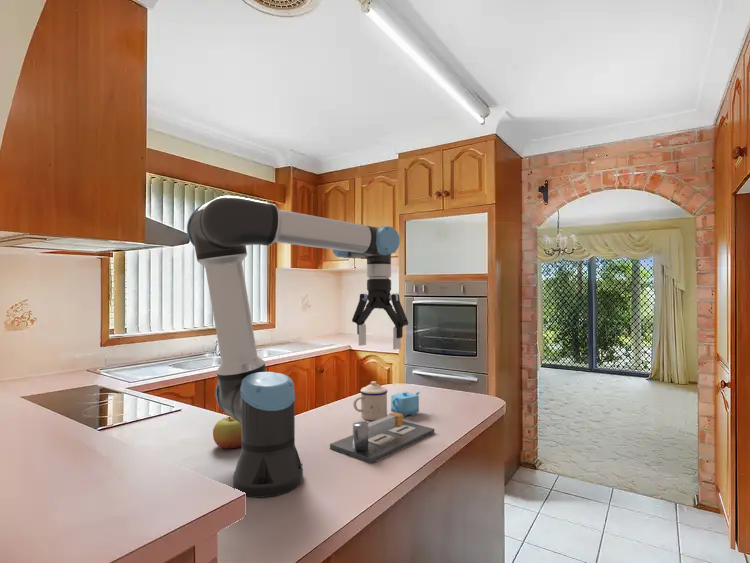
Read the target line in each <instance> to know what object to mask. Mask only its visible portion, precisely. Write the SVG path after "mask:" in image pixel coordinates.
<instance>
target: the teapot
mask: <svg viewBox="0 0 750 563" xmlns="http://www.w3.org/2000/svg"><path fill="white" fill-rule="evenodd" d="M420 393H421V391H417V392H415V394H414V393H413V392H412V393H411V392H408V391H402V392H401V393H396V394H391V395H390V406H391V407H390V412H392V413H393V412H396V413H400V414H403V418H407V416H408V415H410V416H415V413H419V412H420V408H419V406H420V404H419V403H420V396H419V394H420Z"/></svg>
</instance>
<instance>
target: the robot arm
mask: <svg viewBox="0 0 750 563" xmlns="http://www.w3.org/2000/svg"><path fill="white" fill-rule="evenodd" d="M186 223H187V224H186V233H187V238H188V240H189V242H190V243H191V244H192V246H193V247H194V250H195V255H196V261H197V262H198V263H199V264H200V265H202V266H203V268H204V269H205V273H206V275H205V276H206V279H207V286H208V291H209V297H210V303H211V310H212V313H213V314H212V315H213V321H214V326H215V331H216V332H215V333H216V338H217V344H218V348H219V355H220V361H221V364H220V366H219V367H218V368H217V370H216V376H217V384H216V387H215V399H216V402H217V404H218V406H219V408H220V409H221V410H222V412H223V413H225V414H226V415H227V416H228V417H229V416H230V417H232V418H234V419H235V420H237V421H238V422H240V423H241V446H240V447H241V448H240V449H241V450H240V454H239V457H238V460H237V463H236V466H235V470H234V472H233V476H232V479H233V483H232V484H233V486H232V487H233V489H234V488H236V489H238V490H240V491H242V492H245V493H246V497H250V498H268V497H274V496H278V495H283V494H285V493H289V492H290V491H292V490H294V489H296V488H298V486H299V485H300V484H301V483H302V481H303V479H304V469H303V464H302V461H301V458H300V456H299V453H298V450H297V447H296V443H295V442H296V441H295V440H296V438H295V434H296V430H295V429H296V428H295V425H296V424H295V423H296V421H295V420H296V419H295V410H296V409H295V408H296V407H295V402H296V401H295V399H296V392H295V384H294V381H293V379H292V378H291V377H290V376H288V375H286V374H284V373H281V372H274V371H267V368H266V362H265V360H264V359H263V358H261V357H259V356H258V353H257V352H258V351H257V346H256V340H255V333H254V327H253V322H252V316H251V308H250V304H249V296H248V291H247V286H246V279H245V278H246V277H245V273H244V267H243V261H244V260H245V258H246V257H247V256H248V251H247V246H252V245H253V246H255V245H256V246H257V245H259V246H266V247H269V246H271V245H273V244H274V243H279V244H286V245H287V244H288V245H293V246H295V245H296V246H303V247H311V248H320V249H326V250H332V253H333V255H334V256H336V257H338V258H344V259H364V260H365V259H366V277H367V278H368V279H367V280H366V291H367V293H360V294H359V300H358V304H357V306H356V309H355V311H354V314H353V316H352V319H351V321H352V323H355V324H356V325H357V326H356V330H357V331H356V333H357V335H358V346H359V347H361V346H366V345H367V325H366V323H365V322H366V321H367V319H368V317H369V316H370V315H371V314H372V312H373V310H374V309H383V311H385V312H386V314H387V315H388V316H389V318H390V320H391V322H392V323H393V324H394V327H392V328H393V331H392V332H393V333H392V334H393V336H392V338H393V339H392V342H393V343H392V344H393V345H392V348H393V350H395V351H396V350H399V349H400V350H401V344H402V343H401V339H402V338H403V332H404V331H403V328H404V327H405V326H408V325H409V321H408V319H407V316H406V313H405V310H404V308H403V306H402V303H401V301H400V294H398V293H393V294H391V291H392V280H391V279H390V278H391V277H392V254H395V253H396V252H397V251H398V249H399V247H400V241H401V240H400V235H399V233H398V231H397V229H396V228H394V227H393V226H389V225H387V226H384V225H382V226H379V227H378V226H377V227H376V226H372V225H365V224H360V223H355V222H350V221H344V220H338V219H333V218H327V217H321V216H318V215H317V216H316V215H311V214H305V213H300V212H295V211H289V210H283V209H279V208H278V206H277V205H276V204H274V203H271V202H265V201H260V200H256V199H251V198H246V197H242V196H241V197H240V196H234V195H224V196H219V197H216V198H214V199H212V200H210V201H209V202H207V203H203V204H201V205H200V206H198V207H197V208H196V209H195V210H193V212H192V214H191V215H190V216H189V217H188V220H187V222H186ZM390 301H391V302H390Z"/></svg>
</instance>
